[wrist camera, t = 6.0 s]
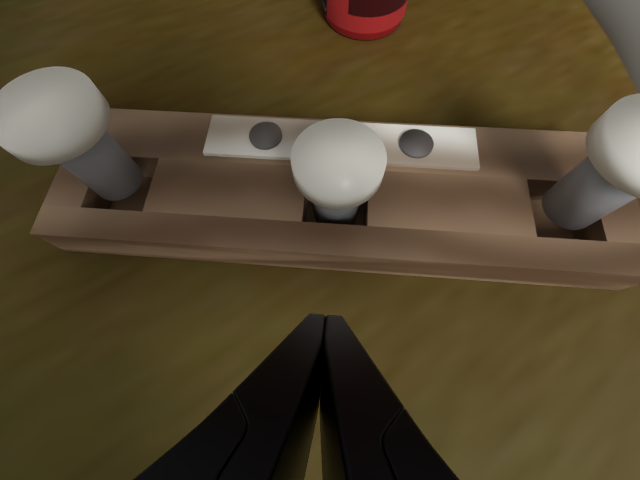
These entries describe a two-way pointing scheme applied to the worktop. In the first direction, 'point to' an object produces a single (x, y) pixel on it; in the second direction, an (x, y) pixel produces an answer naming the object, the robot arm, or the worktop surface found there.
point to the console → (372, 217)
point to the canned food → (364, 17)
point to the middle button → (338, 167)
